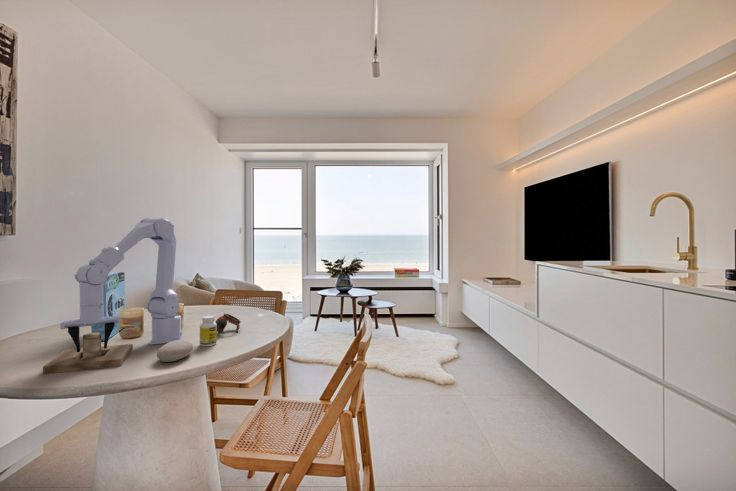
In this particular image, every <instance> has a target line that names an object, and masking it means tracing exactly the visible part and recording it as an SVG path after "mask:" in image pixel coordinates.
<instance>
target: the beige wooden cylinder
mask: <svg viewBox="0 0 736 491" xmlns="http://www.w3.org/2000/svg"><path fill="white" fill-rule="evenodd" d="M101 347H102V341H101V333H92V332H91V333H85V334H82V348H83V358H94V357H102V356H101ZM83 358H82V359H83Z"/></svg>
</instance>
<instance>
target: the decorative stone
mask: <svg viewBox="0 0 736 491" xmlns="http://www.w3.org/2000/svg"><path fill="white" fill-rule="evenodd" d="M193 349H194V345H193V343H192V341H189V340H187V339H180V340H175V341H172V342H169V343H164V344H163V345H162V346H161V347H160V348H158V350H157V353H156V357H157V359H158V360H159V361H161V362H164V363H171V362H177V361H179V360H181V359H183V358H186V357H187V356H189V355H190V354H191V353H192V351H193Z"/></svg>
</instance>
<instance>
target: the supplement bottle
mask: <svg viewBox="0 0 736 491" xmlns="http://www.w3.org/2000/svg"><path fill="white" fill-rule="evenodd" d="M215 319H216V318H215V315H205V316H202V319H201V320H202V323H200V325H199V346H201V347H212V346H216V345H217V335H218V332H217V324H216V323H215V322H216V320H215Z"/></svg>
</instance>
